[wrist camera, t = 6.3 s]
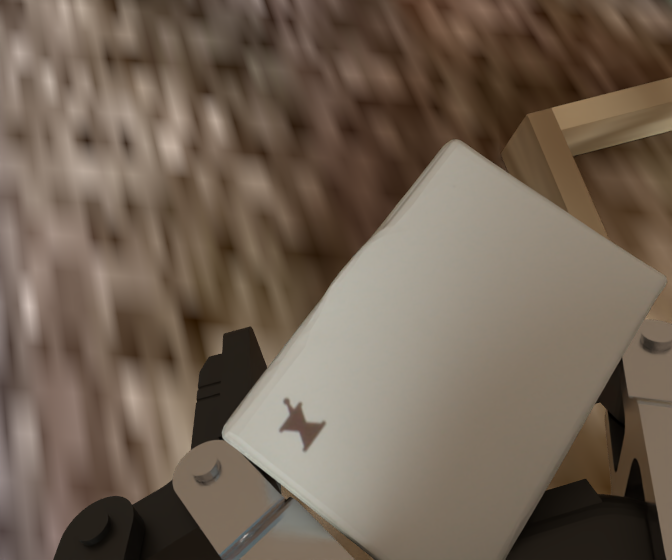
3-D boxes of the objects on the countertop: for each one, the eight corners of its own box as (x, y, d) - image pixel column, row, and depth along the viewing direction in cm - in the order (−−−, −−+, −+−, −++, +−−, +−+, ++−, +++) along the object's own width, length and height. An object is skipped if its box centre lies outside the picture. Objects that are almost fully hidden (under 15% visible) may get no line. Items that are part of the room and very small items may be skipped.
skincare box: (379, 478, 17) (460, 654, 6) (291, 407, 18) (200, 435, 6) (467, 349, 18) (686, 275, 7) (382, 287, 19) (446, 122, 7)
